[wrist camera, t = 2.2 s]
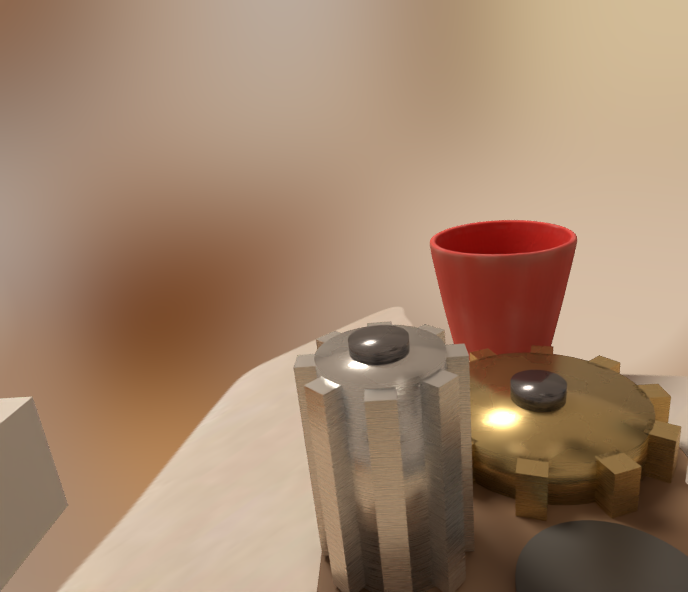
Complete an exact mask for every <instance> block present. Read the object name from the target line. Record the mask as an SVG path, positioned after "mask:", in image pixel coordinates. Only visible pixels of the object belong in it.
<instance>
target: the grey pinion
mask: <svg viewBox="0 0 688 592" xmlns="http://www.w3.org/2000/svg"><path fill="white" fill-rule="evenodd" d="M316 344H317V351H316V353H315V354H308V355H297V358H296V362H295V365H294V374H295V380H296V387H297V393H298V400H299V406H300V413H301V419H302V426H303V432H304V439H305V446H306V452H307V459H308V465H309V472H310V478H311V485H312V491H313V498H314V504H315V511H316V517H317V524H318V530H319V537H320V543H321V550H322V556H329V558H330V565H331V572H332V578H333V584H334V585H335V586H337V587H338V588H339V589H340V590H341V591H342V592H359V591H360V590H362V589H363V588H364V589H366V590H368V591H370V592H425V591H428V590H430V589H432V588H433V587H435V586H436V587H438V588H439V589H440V590H442V591H443V592H454V591H455V590H456V589H457V588H458V587H459V586H460V585H461V584H462V583H463V582H464V581H465V580H466V565H465V551H475V547H474V512H473V478H472V443H471V408H470V373H469V354H468V352H467V349H466V346H465V344H450V345H445V330H443V329H439V328H436V327H433V326H429V325H426V324H425V325H423V326H420V327H419V328H416V327H411V326H404V325H392V322H378V323H367V327H362V328H357V329H353V330H350V331H347V332H344V333H339V332H336V331H334V332H331V333H329V334H327V335H325V336H322V337H320V338H318V339H316Z"/></svg>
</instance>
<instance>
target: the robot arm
mask: <svg viewBox="0 0 688 592" xmlns="http://www.w3.org/2000/svg"><path fill="white" fill-rule="evenodd" d="M685 482H686V483H687V484H688V466H687V473H686V480H685ZM67 506H68V503H67V500H66V497H65V494H64V491H63V488H62V485H61V482H60V479H59V476H58V473H57V470H56V467H55V464H54V461H53V458H52V455H51V452H50V449H49V446H48V443H47V440H46V437H45V433H44V430H43V428H42V424H41V421H40V418H39V415H38V412H37V409H36V406H35V403H34V400H33V397H19V398H2V399H0V591H1V590H2V589H3V588H4V586H5V585H6V584H7V583H8V581H9V580H10V579H11V578H12V576H13V575H14V574H15V572H16V571H17V570H18V569H19V567H20V566H21V565H22V563H23V562H24V561H25V560H26V558H27V557H28V556H29V555H30V553H31V552H32V551H33V549H34V548H35V547H36V545H37V544H38V543H39V542H40V540H41V539H42V538H43V537H44V535H45V534H46V533H47V531H48V530H49V529H50V528H51V526H52V525H53V524H54V523H55V521H56V520H57V519H58V517H59V516H60V515H61V514H62V512H63V511H64V510H65V508H66V507H67Z"/></svg>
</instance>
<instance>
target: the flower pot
mask: <svg viewBox="0 0 688 592" xmlns="http://www.w3.org/2000/svg"><path fill="white" fill-rule="evenodd" d="M576 244H577V236H576V234H575V233H574V232H572V231H571V230H569V229H567V228H565V227H562V226H559V225H555V224H550V223H544V222H537V221H524V220H499V221H486V222H477V223H470V224H465V225H461V226H456V227H452V228H449V229H446V230H444V231H441V232H439V233H437V234H436V235H434V236H433V237H432V238H431V240H430V248H431V254H432V259H433V263H434V268H435V272H436V276H437V280H438V284H439V289H440V293H441V297H442V301H443V305H444V309H445V313H446V317H447V320H448V324H449V327H450V331H451V335H452V338H453V342H454V344H465V346H466V349H467V352H468V354H469V361H470V352H474V351H478V350H483V349H487V348H488V349H490V350H491V351H492V352H494V353H495V354H496V355H499V354H508V353H530V352H531V345H535V346H551V344H552V340H553V337H554V333H555V329H556V325H557V321H558V318H559V314H560V310H561V307H562V302H563V298H564V295H565V290H566V286H567V282H568V278H569V274H570V270H571V266H572V262H573V257H574V253H575V249H576Z"/></svg>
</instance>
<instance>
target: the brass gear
mask: <svg viewBox="0 0 688 592" xmlns="http://www.w3.org/2000/svg"><path fill="white" fill-rule="evenodd" d="M469 373H470V408H471V443H472V478H473V485H474V484H478V485H479V486H481V487H484V488H486V489H488V490H490V491H492V492H495V493H498V494H501V495H503V496H506V497H510V498H513V499H515V516H519V517H524V518H530V519H535V520H541V521H547V505H580V504H589V503H596V504H597V505H598V506H599V507H600V508H601V509H602V510H603V511H604V512H605V513H606V514H607V515H608V516H609V517H610V518H611V519H613V518H616V517H619V516H623V515H626V514H629V513H632V512H636V511H637V509H638V499H639V489H640V481H641V480H642V479H643V478H644V476H647V477H651V478H654V479H657V480H660V481H664V482H667V483H670V484H671V482H672V479H673V476H674V473H675V470H676V465H677V457H678V449H679V441H680V433H681V426H677V425H673V424H669V423H668V418H669V409H670V400H671V396H670V395H669V394H668V393H667V392H666V391H665V390H664V389H663V388H662V387H661V386H660V385H659V384H648V385H636V384H635V383H634V382H632V381H631V380H629V379H628V378H626V377H625V376H623V375H621V374H619V373H620V362H617V361H614V360H611V359H608V358H605V357H602V356H600V355H599V356H597V357H596V358H594V359H592V360H590V361H586V360H582V359H578V358H574V357H569V356H563V355H556V354H553V347H552V346H535V345H531V352H530V353H508V354H499V355H496V354H495V353H494V352H492V351H491V350H490V349H488V348H487V349H483V350H478V351H474V352H470V362H469Z"/></svg>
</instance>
